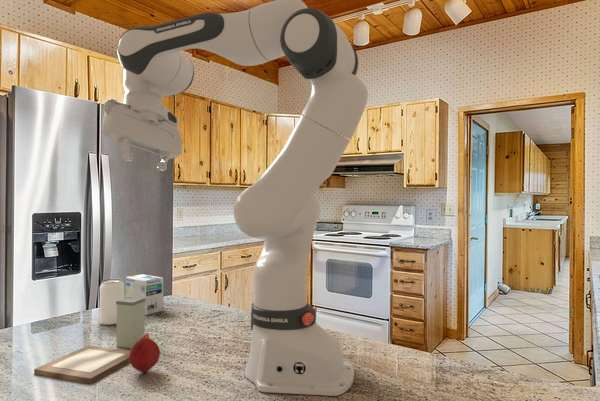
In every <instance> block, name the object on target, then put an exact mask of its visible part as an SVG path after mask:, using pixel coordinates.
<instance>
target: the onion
mask: <svg viewBox="0 0 600 401" xmlns="http://www.w3.org/2000/svg"><path fill="white" fill-rule="evenodd" d="M129 351H130V354H129V360H130V362H129V363H130V365H131V367H132V368H133V369H134V370H135V371H138V372H140V373H143V374H146V373H148V372H149V371H150V370H151V369H153V367H154V366H155V365H156V364H158V361H159V359H160V355H161V352H160V351H161V350H160V346H159V345H158V344H157V342H156V341H155V340H153V339H151V338H150V334H149V333H145V334H144V335H143V336H142V338H141V339H139V340H138V341H137V342H136V343H135V344H134V345H133V347H132V348H130V350H129Z"/></svg>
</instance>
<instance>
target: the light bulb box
mask: <svg viewBox="0 0 600 401" xmlns="http://www.w3.org/2000/svg"><path fill="white" fill-rule="evenodd" d="M129 296H130V297H141V298H145V316H149V315H152V314H156V313H160V312H163V311H164V277H161V276H154V275H149V274H144V273H142V274H136V275H130V276H126V277H125V298H127V297H129Z"/></svg>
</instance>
